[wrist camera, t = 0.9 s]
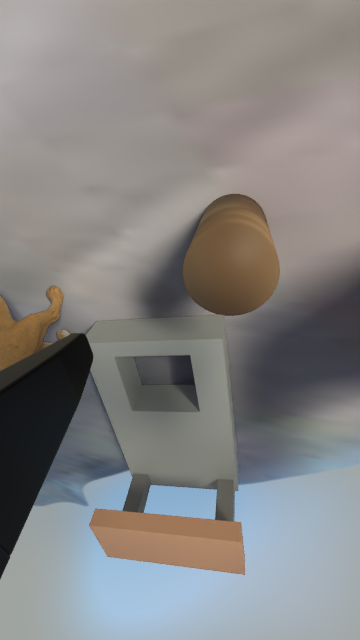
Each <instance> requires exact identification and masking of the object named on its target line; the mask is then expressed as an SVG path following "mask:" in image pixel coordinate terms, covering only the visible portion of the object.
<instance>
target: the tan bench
mask: <svg viewBox="0 0 360 640" xmlns="http://www.w3.org/2000/svg"><path fill="white" fill-rule="evenodd" d="M150 484H151V482H150V479H149V476H148V474H136V473H134V475H133V478H132V481H131V485H130V488H129V491H128V495H127V498H126V501H125V505H124V508H123V511H116V510H106V509H95V511H94V514H93V517H92V519H91V522H90V524H89V526H90V528H91V529H92V531H93V533H94V534H95V536H96V538H97V539H98V541H99V543H100V545H101V546H102V548H103V550H104V551H105V553H106V555H107V556H108V557H114V558H121V559H129V560H137V561H144V562H153V563H160V564H167V565H175V566H182V567H190V568H198V569H205V570H213V571H220V572H229V573H235V574H243V575H245V557H244V556H245V555H244V546H243V536H242V527H241V523H240V522H234V493H235V488H234V480H228V479H218V483H217V500H216V517H215V520H210V519H200V518H190V517H189V518H188V517H179V516H168V515H158V514H148V513H144V508H145V505H146V501H147V496H148V492H149V488H150Z"/></svg>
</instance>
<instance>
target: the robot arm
mask: <svg viewBox="0 0 360 640" xmlns="http://www.w3.org/2000/svg"><path fill="white" fill-rule="evenodd" d="M92 363H93V352H92V349H91V347H90V344H89V342H88V339H87V337H86V335H85V334H83V333H73V334H70V335H68V336H66V337H64V338H62V339H60V340H58V341H57V342H55V343H53V344H51V345H49V346H47V347H45V348H43V349H41V350H39V351H38V352H36V353H34V354H32V355H30V356H28V357H26V358H24V359H22V360H20V361H18V362H17V363H15V364H13V365H11V366H9V367H7V368H5V369H3V370H1V371H0V579H1V576H2V574H3V571H4V570H5V567H6V565H7V563H8V561H9V559H10V555H11V554H12V551H13V549H14V547H15V545H16V542H17V540H18V538H19V536H20V534H21V531H22V529H23V527H24V525H25V522H26V520H27V518H28V516H29V513H30V511H31V509H32V507H33V505H34V502H35V500H36V498H37V496H38V493H39V491H40V489H41V487H42V484H43V482H44V480H45V478H46V476H47V473H48V471H49V469H50V467H51V464H52V462H53V460H54V458H55V455H56V453H57V451H58V449H59V447H60V444H61V442H62V440H63V438H64V435H65V433H66V431H67V429H68V426H69V424H70V422H71V420H72V418H73V415H74V413H75V411H76V409H77V406H78V404H79V402H80V399H81V396H82V393H83V390H84V387H85V384H86V381H87V378H88V375H89V372H90V369H91V366H92Z"/></svg>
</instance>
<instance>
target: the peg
mask: <svg viewBox="0 0 360 640" xmlns="http://www.w3.org/2000/svg"><path fill="white" fill-rule="evenodd" d="M182 273H183V280H184V284H185V287H186V289H187V291H188V293H189V295H190V296H191V297H192V299H193V300H194V301H195V302H196V303H197V304H198V305H200V306H201V307H203V308H204V309H206V310H208V311H210V312H213V313H215V314H220V315H226V316H234V315H241V314H245V313H248V312H251V311H253V310H255V309H257V308H258V307H260V306H261V305H262V304H264V303H265V302H266V301H267V300H268V299H269V298H270V296H271V295H272V294H273V292H274V290H275V288H276V286H277V283H278V280H279V274H280V267H279V260H278V257H277V253H276V250H275V247H274V244H273V240H272V237H271V234H270V230H269V227H268V224H267V221H266V217H265V214H264V212H263V210H262V208H261V207H260V206H259V204H258V203H257V202H256V201H254V200H253V199H251V198H249V197H247V196H245V195H240V194H229V195H225V196H222V197H220V198H218V199H216V200H215V201H213V202H212V203H211V204H210V205H209V206H208V207H207V209H206V210H205V212H204V214H203V216H202V218H201V221H200V223H199V225H198V228H197V230H196V232H195V235H194V237H193V240H192V242H191V244H190V247H189V249H188V251H187V254H186V256H185V259H184V263H183V272H182Z"/></svg>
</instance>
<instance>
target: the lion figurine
mask: <svg viewBox="0 0 360 640" xmlns="http://www.w3.org/2000/svg"><path fill="white" fill-rule="evenodd" d="M46 296H47V298H48V299H49V300H50V301H51V306H50V307H49V308H48V309H47V310H46V311H42V312H39V313H35V314H30V315H28V316H26V317H25V318H24V319H22V320H20V321H14V320H13V319H12V316H11V313H10V310H9V308H8V306H7V304H6V303H5V301H4V300H3V298H2V297H1V296H0V371H1V370H3V369H5V368H7V367H9V366H11V365H13V364H15V363H17V362H18V361H20V360H22V359H24V358H26V357H28V356H30V355H32V354H34V353H36V352H38V351H39V350H41V349H43V348H45V347H47V346H49V345H51V344H53V343H48V342H44V341H43V339H44V336H45V334H46V331H47V329H48V327H49V325H50V324H51V323H53V322H55V321H56V320H58V319H59V318H60V311H61V305H62V302H63V294H62V292H61V290H60V289H59V288H58V287H55V286H51V287H50V288H49V289H48V290H47V292H46ZM56 335H57V339H58V340H60V339H62V338H64V337H66V336H68V335H70V334H69V332H67V331H66V330H59V331H58V332H57V333H56Z"/></svg>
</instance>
